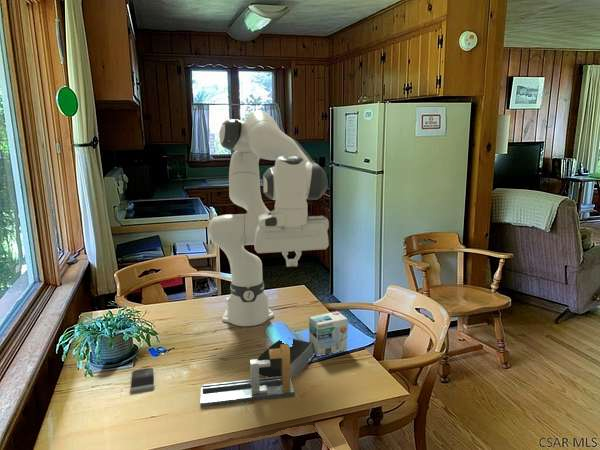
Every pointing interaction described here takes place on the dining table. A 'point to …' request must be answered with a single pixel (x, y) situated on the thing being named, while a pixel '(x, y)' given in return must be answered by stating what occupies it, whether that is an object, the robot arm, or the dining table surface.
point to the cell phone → (142, 380)
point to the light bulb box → (328, 333)
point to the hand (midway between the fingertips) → (291, 266)
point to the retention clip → (257, 376)
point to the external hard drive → (298, 358)
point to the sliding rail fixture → (242, 389)
